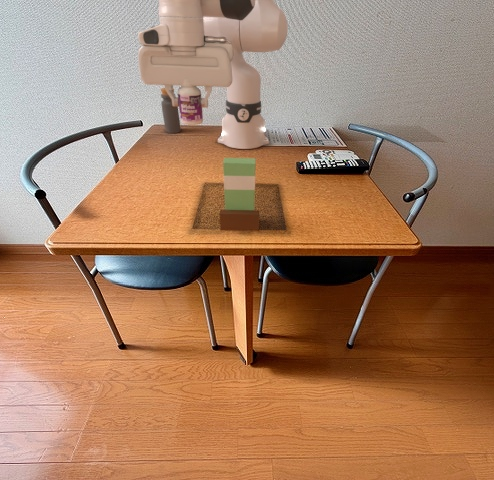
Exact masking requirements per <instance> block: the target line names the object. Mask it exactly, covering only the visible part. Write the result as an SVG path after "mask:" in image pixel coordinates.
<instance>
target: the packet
mask: <svg viewBox="0 0 494 480" xmlns="http://www.w3.org/2000/svg"><path fill="white" fill-rule="evenodd" d="M256 161H257V160H256V158H255V157H253V158H251V157H223V162H222V167H223V168H222V169H223V172H222V173H223V184H224V186H223V187H224V190H223V191H224V193H223V194H224V197H225V198H224V200H225V202H224V203H225V206H224V210H255V206H254V203H256V198H255V195H256V193H255V191H256V188H255V187H256V185H255V184H256V168H257V167H256V166H257V163H256Z"/></svg>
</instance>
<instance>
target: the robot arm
mask: <svg viewBox="0 0 494 480" xmlns="http://www.w3.org/2000/svg"><path fill="white" fill-rule="evenodd" d="M158 19H159V24H158V25H153V26H151V27H150V28H147V29H144V30H142V31H139V32H138V34H137V40H138V42H139V44H140V45H141V46H140V47H139V49H138V52H137V58H138V61H137V62H138V70H139V76H140V77H139V78H140V80H141V81H142V82H143V83H144V85H152V86H164V88H165V91H166V92H167V93H168V95H169V96H170V98H171V99H172V106H173V107H178V108H179V100H178V96H176V94H175V92H174V93H173V91H172V89H174V86H181V85H183V83H184V80H189V81H190V83H191V85H192V86H197V87H204V92H206V95H205V97H201V103H202V104H201V107H202V108H207V109H208V108H209V98H210V95H211V93H212V91H213V88H214V87H215V88H216V87H217V88H218V87H219V88H226V101H225V112H226V114H225V115H224V116H223V118H221V120H222V121H221V135H220V136H219V137H218V138H217V143H218V144H221V145H225V146H226V147H228V148H232V149H237V150H238V149H239V150H251V149H257V148H260V147H262V146H265V145H269V144H270V140H269V138H268V137H267V136H266V135H265V134H266V133H265V132H266V120H265V119H264V117H263V116H262V114H261V113H262V101H261V87H262V85H261V84H262V77H261V75H260V72H259V71H258V69H256V68H255V67H254V66H252V65H251V64H249V63H248V62H247V61H246V60H245V58H244V52H247V53H248V52H249V53H269V52H274V51H279V50H280V49H281V48H283V46H284V44H285V42H286V40H287V37H288V33H289V31H288V30H289V27H288V20H287V17H286V15H285V12H283V10H282V9H281V8H279V6H278V5H277V4H276V2H275V1H274V0H158ZM174 94H175V95H174Z"/></svg>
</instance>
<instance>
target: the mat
mask: <svg viewBox="0 0 494 480" xmlns="http://www.w3.org/2000/svg"><path fill="white" fill-rule="evenodd" d="M219 187H220V189H221V190H218V188H219ZM255 189H257V190H255V200H256V202H255V203H254V210H225V196H224V183H222V182H218V183H217V182H214V183H210V182H204V185H203V188H202V192H201V196H200V202H199V204H198V206H197V210H196V215H195V216H194V217H195V218H194V221H193V225H192V228H191V229H195V230H198V229H199V228H202V230H205V229H206V230H215V231H216V230H217V231H219V230H220V231H254V232H255V231H257V232H258V231H287V225H286V224H287V223H286V220H285V213H284V209H283V203H282V196H281V191H280V186H279V183H261V184H260V186H259V184H258V183H255ZM264 195H265V196H264Z"/></svg>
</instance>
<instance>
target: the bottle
mask: <svg viewBox="0 0 494 480" xmlns="http://www.w3.org/2000/svg"><path fill="white" fill-rule="evenodd" d="M172 91H173V93H174V95H175V96H176V94H175V88H173V89H172ZM160 92H161V94H160V97H161V99H162V101H161V102H160V104H161V110H162V117H163V124H164V129H165V130H164V131H165V133H167V134H177V133H180V132H181V130H182V129H181V119H180V111H179V107H173V106H172V99H171V98H170V96H169V95H168V93H167V92H166V91H165V87H163V88H162V87H161V88H160Z"/></svg>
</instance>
